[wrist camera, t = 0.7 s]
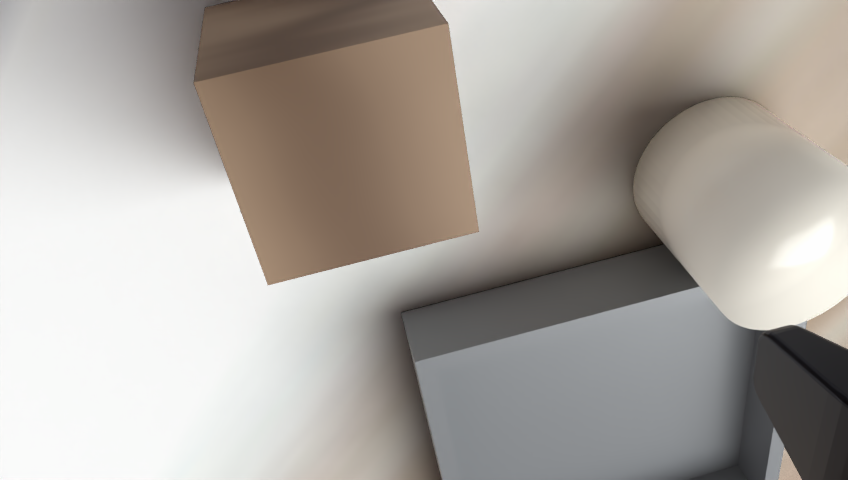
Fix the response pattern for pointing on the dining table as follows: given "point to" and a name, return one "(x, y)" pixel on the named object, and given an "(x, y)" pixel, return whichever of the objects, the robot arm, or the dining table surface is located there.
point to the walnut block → (336, 128)
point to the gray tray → (593, 379)
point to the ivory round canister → (748, 211)
